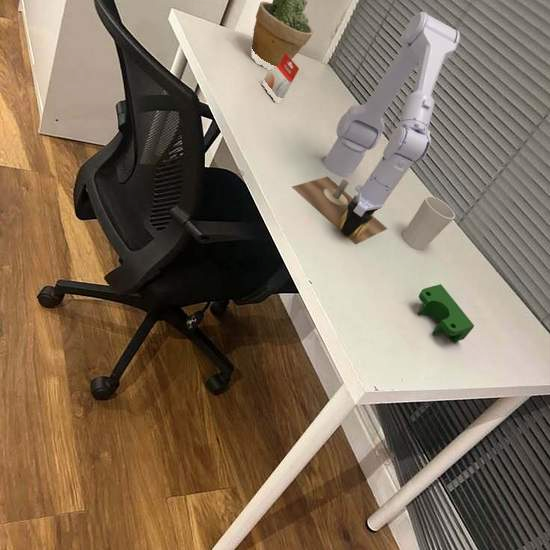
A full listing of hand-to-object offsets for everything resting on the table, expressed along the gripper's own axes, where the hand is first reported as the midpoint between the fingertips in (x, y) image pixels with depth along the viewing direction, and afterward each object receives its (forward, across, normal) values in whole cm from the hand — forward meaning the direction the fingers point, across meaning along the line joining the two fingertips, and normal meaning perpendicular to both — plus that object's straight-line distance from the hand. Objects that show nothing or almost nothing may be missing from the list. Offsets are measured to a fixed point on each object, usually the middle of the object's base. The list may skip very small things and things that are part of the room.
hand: (350, 228), depth 122 cm
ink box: (+2, -42, -44) cm, 61 cm away
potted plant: (+2, -62, -57) cm, 85 cm away
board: (+2, -6, -5) cm, 8 cm away
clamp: (+2, +9, +26) cm, 27 cm away
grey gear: (0, -8, -1) cm, 8 cm away
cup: (+2, -14, +13) cm, 20 cm away
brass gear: (0, 0, 0) cm, 0 cm away
